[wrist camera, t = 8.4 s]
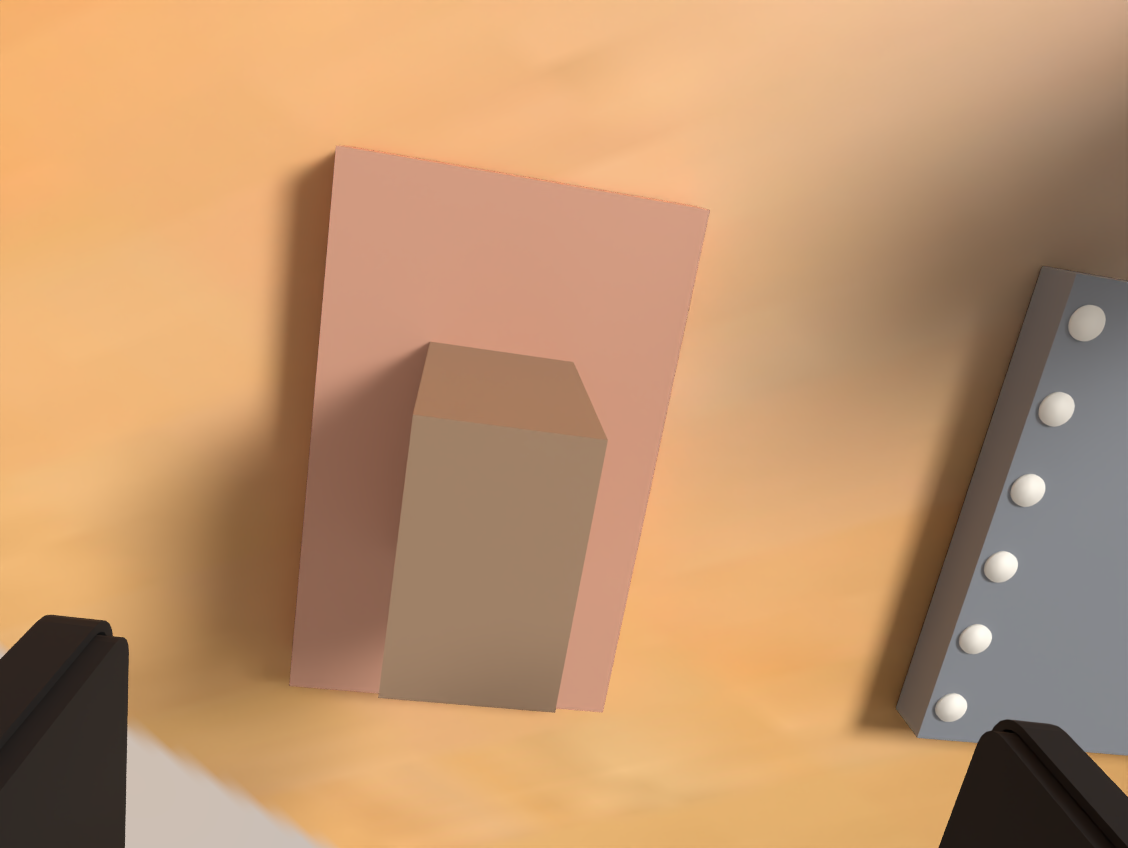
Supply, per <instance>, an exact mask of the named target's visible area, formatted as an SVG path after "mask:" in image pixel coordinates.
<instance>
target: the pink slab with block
mask: <svg viewBox="0 0 1128 848" xmlns="http://www.w3.org/2000/svg"><path fill="white" fill-rule="evenodd" d="M709 212H710V210H707V209H704V208H701V207H697V206H692V205H686V204H680V203H674V202H668V201H663V200H657V199H651V198H645V197H640V196H634V195H628V194H622V193H616V192H611V191H605V190H599V189H593V188H588V187H582V186H576V185H570V184H564V183H559V182H553V181H547V180H541V179H535V178H530V177H524V176H518V175H512V174H507V173H501V172H495V171H489V170H483V169H478V168H472V167H466V166H460V165H455V164H449V163H443V162H437V161H431V160H426V159H420V158H414V157H408V156H402V155H397V154H391V153H385V152H379V151H374V150H368V149H362V148H356V147H350V146H345V145H343V146H336V152H335V164H334V175H333V187H332V198H331V210H330V221H329V233H328V245H327V256H326V268H325V279H324V291H323V302H322V314H321V326H320V337H319V349H318V360H317V372H316V383H315V395H314V407H313V418H312V430H311V441H310V453H309V464H308V476H307V488H306V499H305V511H304V522H303V534H302V545H301V557H300V569H299V580H298V592H297V603H296V615H295V626H294V638H293V650H292V661H291V673H290V684H289V686H296V687H308V688H320V689H332V690H344V691H356V692H368V693H379V696H378V698H387V699H399V700H411V701H423V702H435V703H447V704H458V705H470V706H482V707H494V708H506V709H518V710H530V711H542V712H554V713H555V710H556V708H557V709H569V710H581V711H593V712H603V709H604V704H605V700H606V695H607V690H608V685H609V681H610V676H611V671H612V667H613V662H614V657H615V653H616V648H617V643H618V639H619V634H620V629H621V625H622V620H623V615H624V611H625V606H626V601H627V596H628V592H629V587H630V582H631V578H632V573H633V568H634V564H635V559H636V554H637V550H638V545H639V540H640V536H641V531H642V526H643V522H644V517H645V512H646V508H647V503H648V498H649V493H650V489H651V484H652V479H653V475H654V470H655V465H656V461H657V456H658V451H659V447H660V442H661V437H662V433H663V428H664V423H665V419H666V414H667V409H668V404H669V400H670V395H671V390H672V386H673V381H674V376H675V372H676V367H677V362H678V358H679V353H680V348H681V344H682V339H683V334H684V330H685V325H686V320H687V315H688V311H689V306H690V301H691V297H692V292H693V287H694V283H695V278H696V273H697V269H698V264H699V259H700V255H701V250H702V245H703V241H704V236H705V231H706V227H707V222H708V217H709Z"/></svg>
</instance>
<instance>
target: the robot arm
mask: <svg viewBox="0 0 1128 848" xmlns="http://www.w3.org/2000/svg"><path fill="white" fill-rule="evenodd" d="M128 665H129V648H128V642H127V640H126V639H125V638H123V637H114V636H113V635H112V629H111V626H110V624H109V623H108V622H107V621H103V620H94V619H85V618H76V617H66V616H57V615H46V616H44V617H42V618H41V619H40V620H38V621H37V622H36V623H35V624H34V625H33V626H32V627H31V628H30V629H29V630H28V631H27V632H26V633H25V634H24V636H23V637H22V638H21V639H20V640H19V641H18V642H17V643H16V644H15V645H14V646H13V647H12V648H11V649H10V650H9V651H8V652H7V653H6V654H5V655H4V656H3V657H2V658H1V659H0V848H125V814H126V763H127V715H128ZM939 848H1128V797H1127V796H1126V795H1125V794H1124V793H1123V792H1122V790H1121V789H1120V788H1119V787H1118V786H1117V785H1116V784H1115V783H1114V782H1113V781H1112V780H1111V779H1110V778H1109V777H1108V776H1107V775H1106V774H1105V773H1104V772H1103V770H1102V769H1101V768H1100V767H1099V766H1098V765H1097V764H1096V763H1095V762H1094V761H1093V760H1092V759H1091V758H1090V757H1089V756H1088V755H1087V754H1086V753H1085V752H1084V751H1083V749H1082V748H1081V747H1080V746H1079V745H1078V744H1077V743H1076V742H1075V741H1074V740H1073V739H1072V738H1071V737H1070V736H1069V735H1068V734H1067V733H1066V732H1065V731H1064V730H1063V729H1061V728H1060V727H1059V726H1056V725H1053V724H1047V723H1038V722H1029V721H1020V720H1010V719H1006V720H1002V721H999V722H998V723H997V724H996V725H995V726H994V727H993V729H992V731H987V732H985V733H984V734H983V735H982V736H981V737H980V739H979V741H978V743H977V746H976V749H975V751H974V754H973V757H972V760H971V762H970V765H969V768H968V770H967V773H966V776H965V778H964V781H963V784H962V786H961V789H960V792H959V794H958V797H957V800H956V802H955V805H954V808H953V810H952V813H951V816H950V819H949V821H948V824H947V827H946V829H945V832H944V835H943V837H942V840H941V843H940V845H939Z"/></svg>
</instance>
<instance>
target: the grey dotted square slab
mask: <svg viewBox="0 0 1128 848" xmlns="http://www.w3.org/2000/svg"><path fill="white" fill-rule="evenodd" d="M896 710H897V711H898V712H899V714H900V715H901V716H902V718H903V719H904V720H905V722H906V723H907V724H908V726H909V727H910V729H911V730H912V731H913V733H914V734H915V735H916V737H917V738H927V739H939V740H950V741H962V742H974V743H978V741H979V739H980V737H981V736H982V735H983V734H984V733H985V732H987V731H992V729H993V727H994V726H995V725H996V724H997V723H998V722H999V721H1002V720H1006V719H1010V720H1020V721H1029V722H1038V723H1047V724H1053V725H1056V726H1059V727H1060V728H1061V729H1063V730H1064V731H1065V732H1066V733H1067V734H1068V735H1069V736H1070V737H1071V738H1072V739H1073V740H1074V741H1075V742H1076V743H1077V744H1078V745H1079V746H1080V747H1081V748H1082V749H1083V751H1084V752H1092V753H1104V754H1116V755H1128V281H1126V280H1121V279H1115V278H1109V277H1103V276H1097V275H1092V274H1086V273H1080V272H1074V271H1069V270H1063V269H1057V268H1051V267H1045V266H1042V268H1041V271H1040V274H1039V277H1038V280H1037V283H1036V286H1035V289H1034V292H1033V295H1032V298H1031V301H1030V304H1029V307H1028V310H1027V313H1026V316H1025V320H1024V323H1023V326H1022V329H1021V332H1020V335H1019V338H1018V341H1017V344H1016V347H1015V350H1014V353H1013V356H1012V359H1011V362H1010V365H1009V368H1008V371H1007V374H1006V377H1005V380H1004V383H1003V386H1002V389H1001V392H1000V395H999V398H998V401H997V404H996V407H995V410H994V413H993V416H992V419H991V422H990V425H989V428H988V431H987V434H986V437H985V440H984V443H983V446H982V449H981V452H980V455H979V458H978V462H977V465H976V468H975V471H974V474H973V477H972V480H971V483H970V486H969V489H968V492H967V495H966V498H965V501H964V504H963V507H962V510H961V513H960V516H959V519H958V522H957V525H956V528H955V531H954V534H953V537H952V540H951V543H950V546H949V549H948V552H947V555H946V558H945V561H944V564H943V567H942V570H941V573H940V576H939V579H938V582H937V585H936V588H935V591H934V594H933V597H932V600H931V603H930V607H929V610H928V613H927V616H926V619H925V622H924V625H923V628H922V631H921V634H920V637H919V640H918V643H917V646H916V649H915V652H914V655H913V658H912V661H911V664H910V667H909V670H908V673H907V676H906V679H905V682H904V685H903V688H902V691H901V694H900V697H899V700H898V703H897V706H896Z"/></svg>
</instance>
